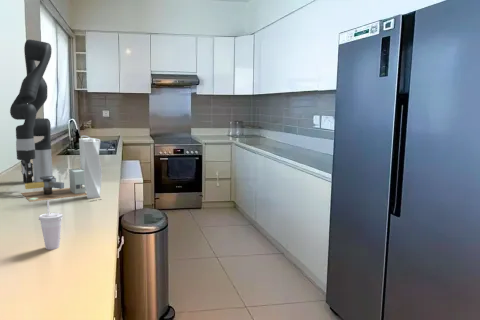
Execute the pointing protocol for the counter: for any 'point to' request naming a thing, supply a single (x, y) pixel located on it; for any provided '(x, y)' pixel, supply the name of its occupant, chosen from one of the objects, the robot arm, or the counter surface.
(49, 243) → the smoothie
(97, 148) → the skyscraper
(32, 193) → the walnut board
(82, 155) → the cylindrical container
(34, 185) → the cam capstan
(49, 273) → the counter surface
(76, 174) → the stand
